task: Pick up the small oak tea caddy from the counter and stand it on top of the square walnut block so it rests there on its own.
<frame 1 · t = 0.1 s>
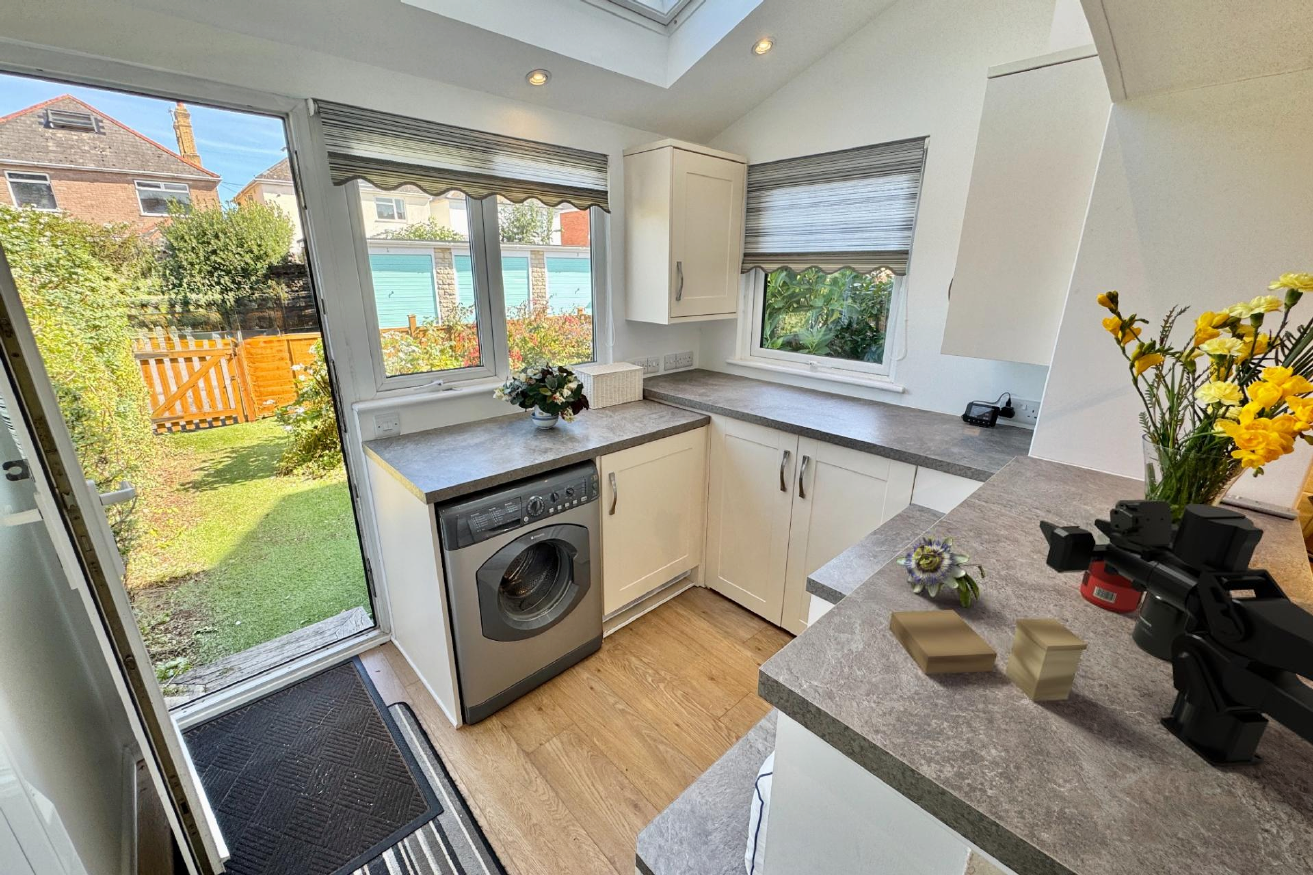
hand: (1068, 522, 82), 17 cm above the worktop, tool horizontal, fingers open, 9 cm apart
oak tea caddy: (1035, 685, 72), on the worktop
passion flower: (936, 590, 94), on the worktop
supplement bottle: (1160, 649, 79), on the worktop
canned food: (1107, 601, 91), on the worktop
walnut block: (938, 648, 78), on the worktop
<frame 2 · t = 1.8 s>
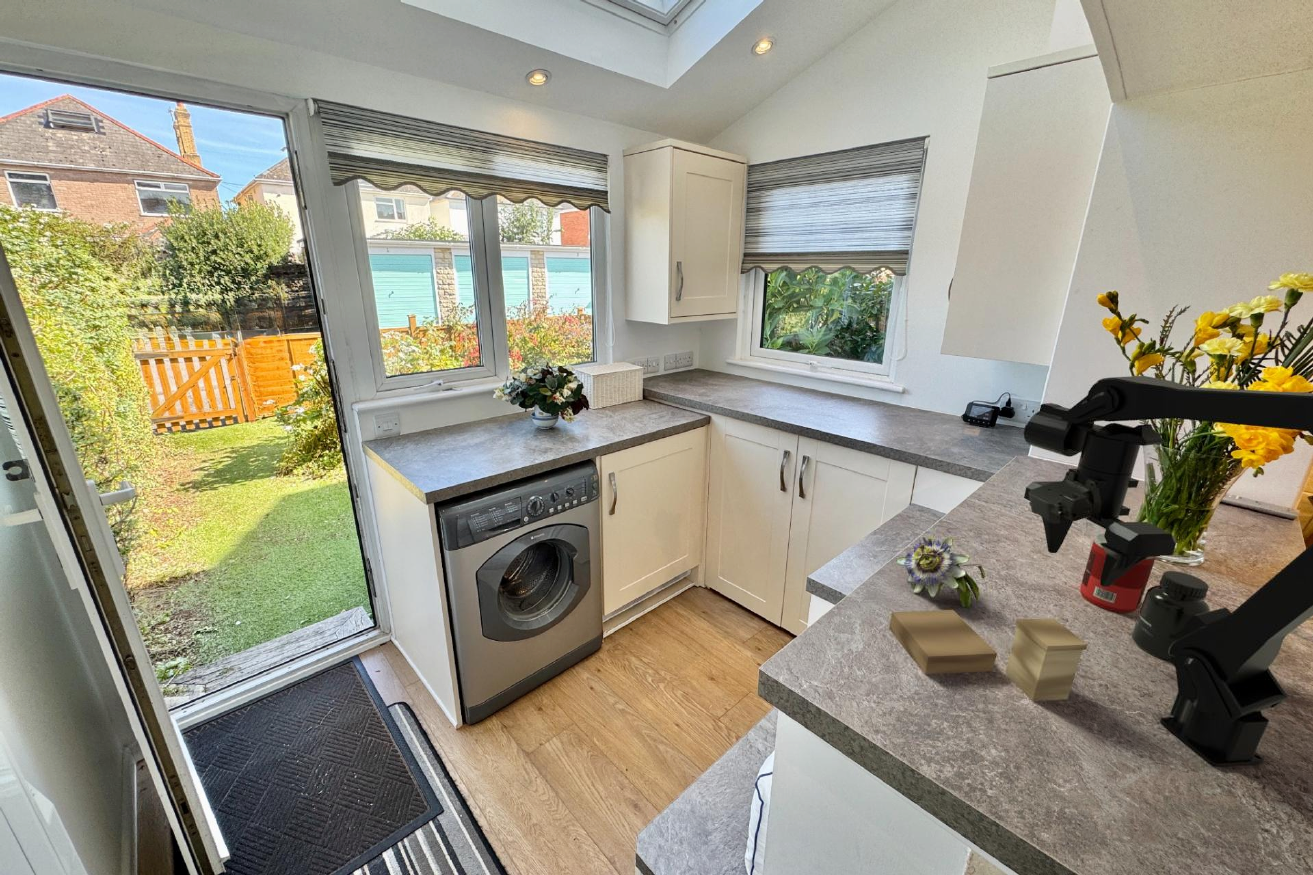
hand: (1076, 568, 76), 13 cm above the worktop, tool pointing down, fingers open, 9 cm apart
nothing on the worktop moved.
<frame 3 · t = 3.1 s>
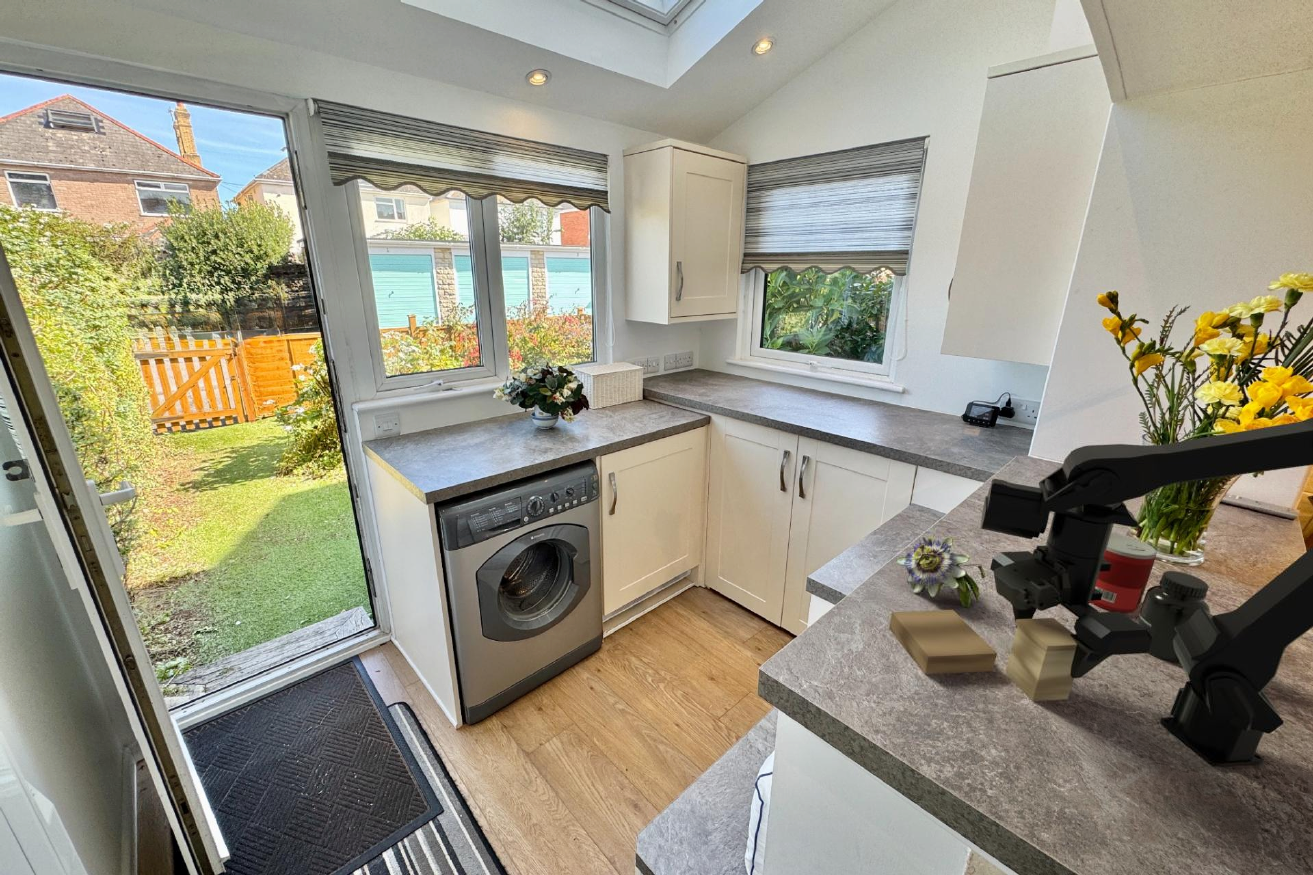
hand: (1046, 652, 70), 6 cm above the worktop, tool pointing down, fingers open, 9 cm apart
nothing on the worktop moved.
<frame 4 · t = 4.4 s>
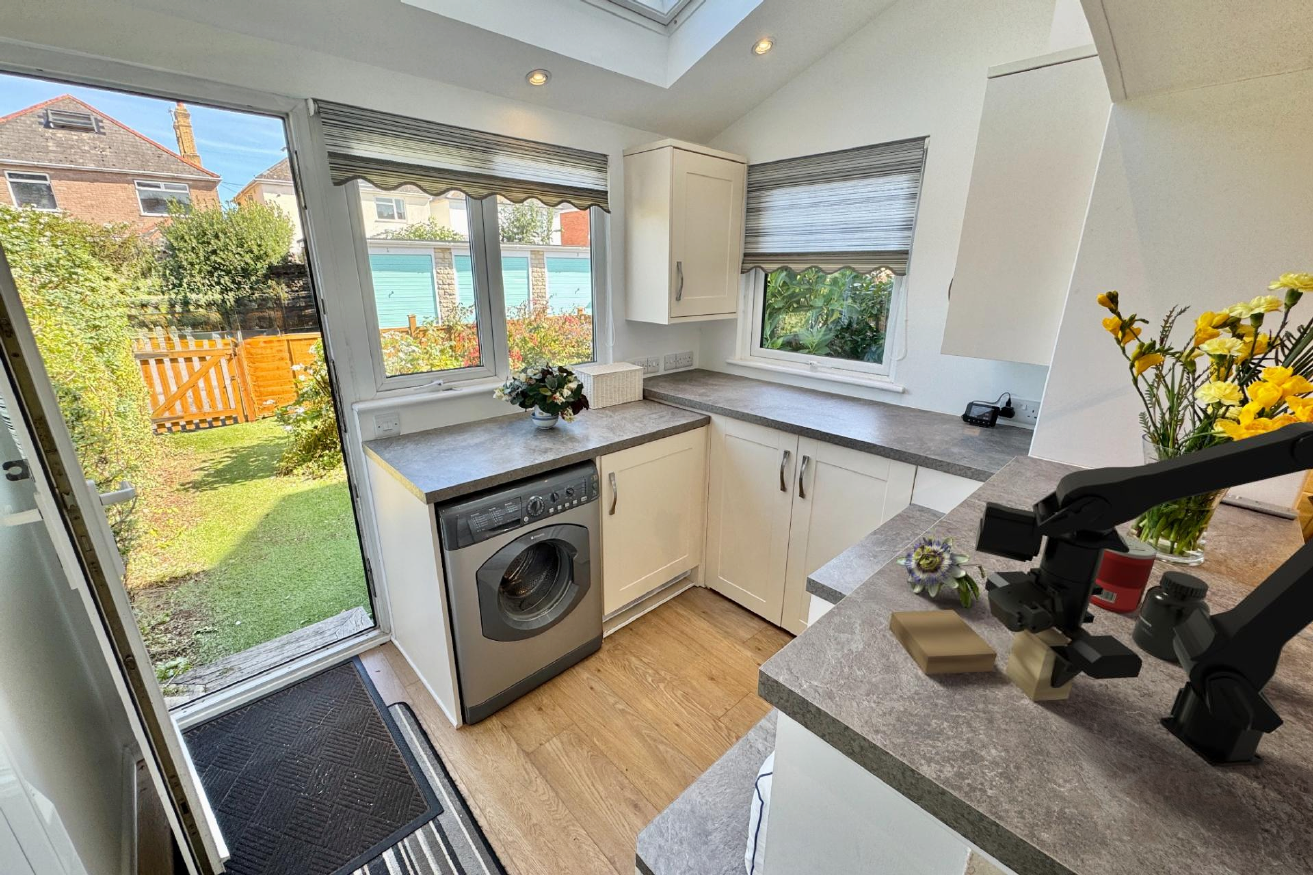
hand: (1039, 672, 71), 2 cm above the worktop, tool pointing down, fingers closed on oak tea caddy, 5 cm apart
oak tea caddy: (1035, 685, 72), on the worktop, touching gripper
everything else where it was.
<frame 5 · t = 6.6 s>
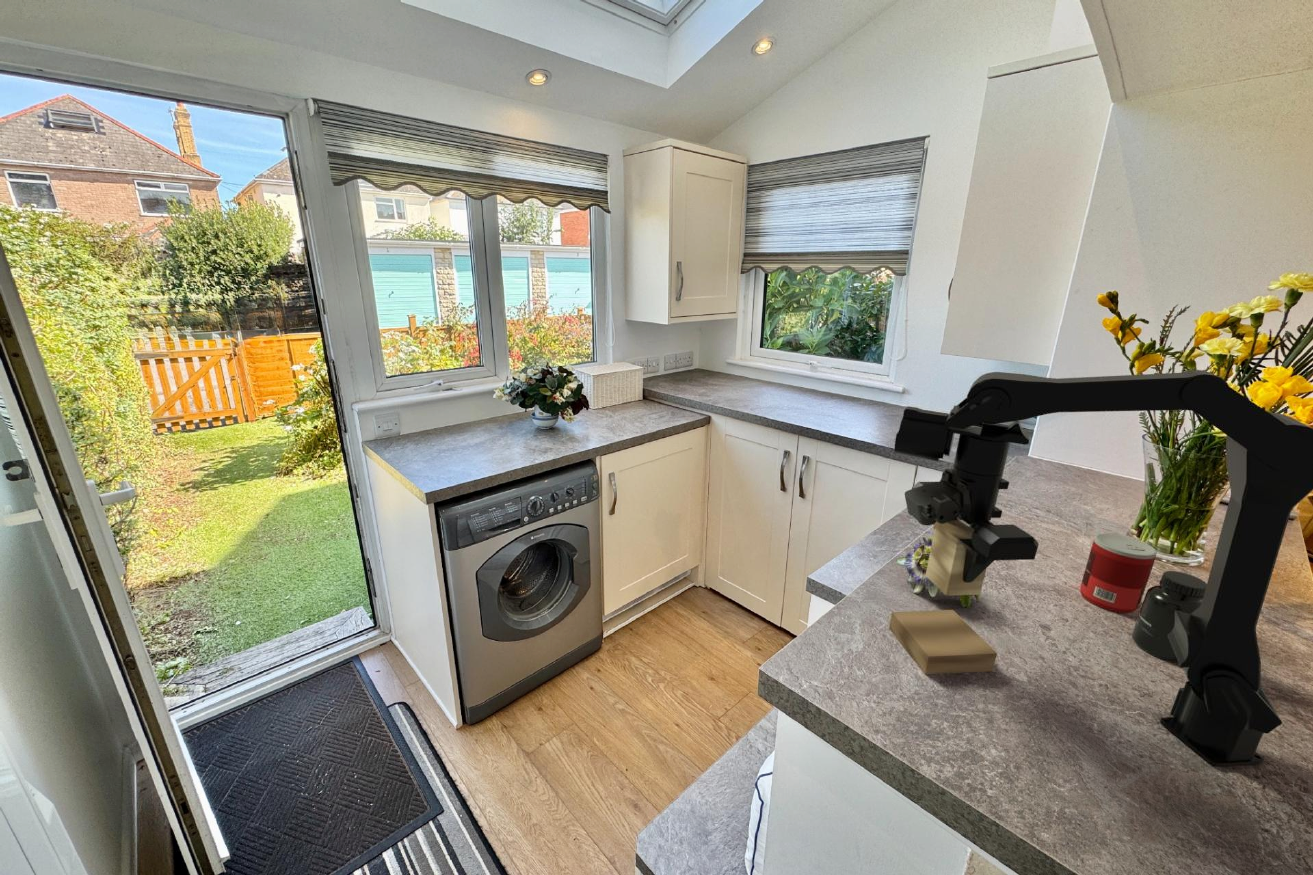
hand: (955, 571, 74), 13 cm above the worktop, tool pointing down, fingers closed on oak tea caddy, 5 cm apart
oak tea caddy: (952, 584, 75), point 11 cm above the worktop, touching gripper
everything else where it was.
when the fingers open (6 cm above the worktop, at t = 8.6 s): oak tea caddy drops 1 cm, resting on walnut block.
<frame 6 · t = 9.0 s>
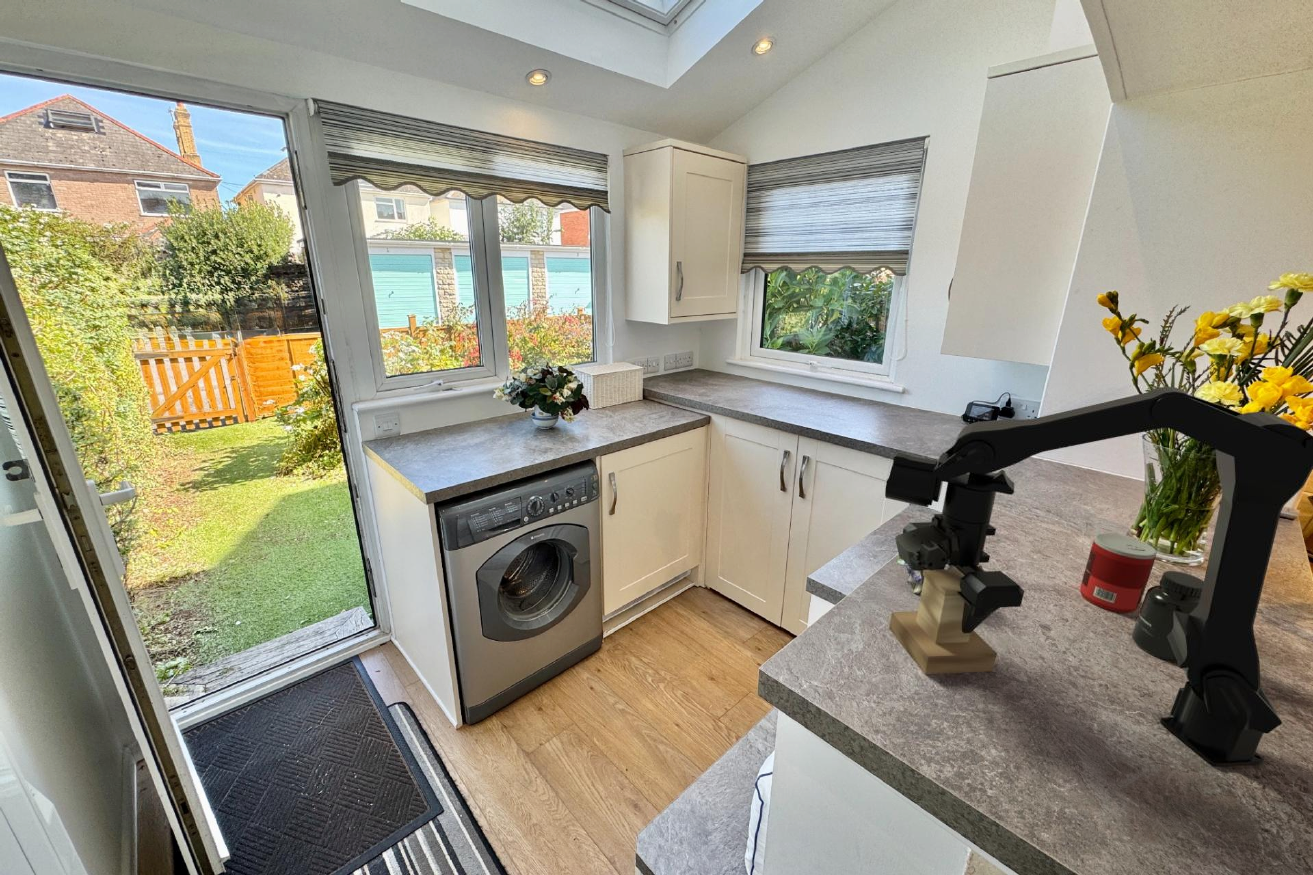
hand: (945, 612, 77), 6 cm above the worktop, tool pointing down, fingers open, 9 cm apart
oak tea caddy: (941, 631, 78), point 3 cm above the worktop, touching walnut block
everything else where it was.
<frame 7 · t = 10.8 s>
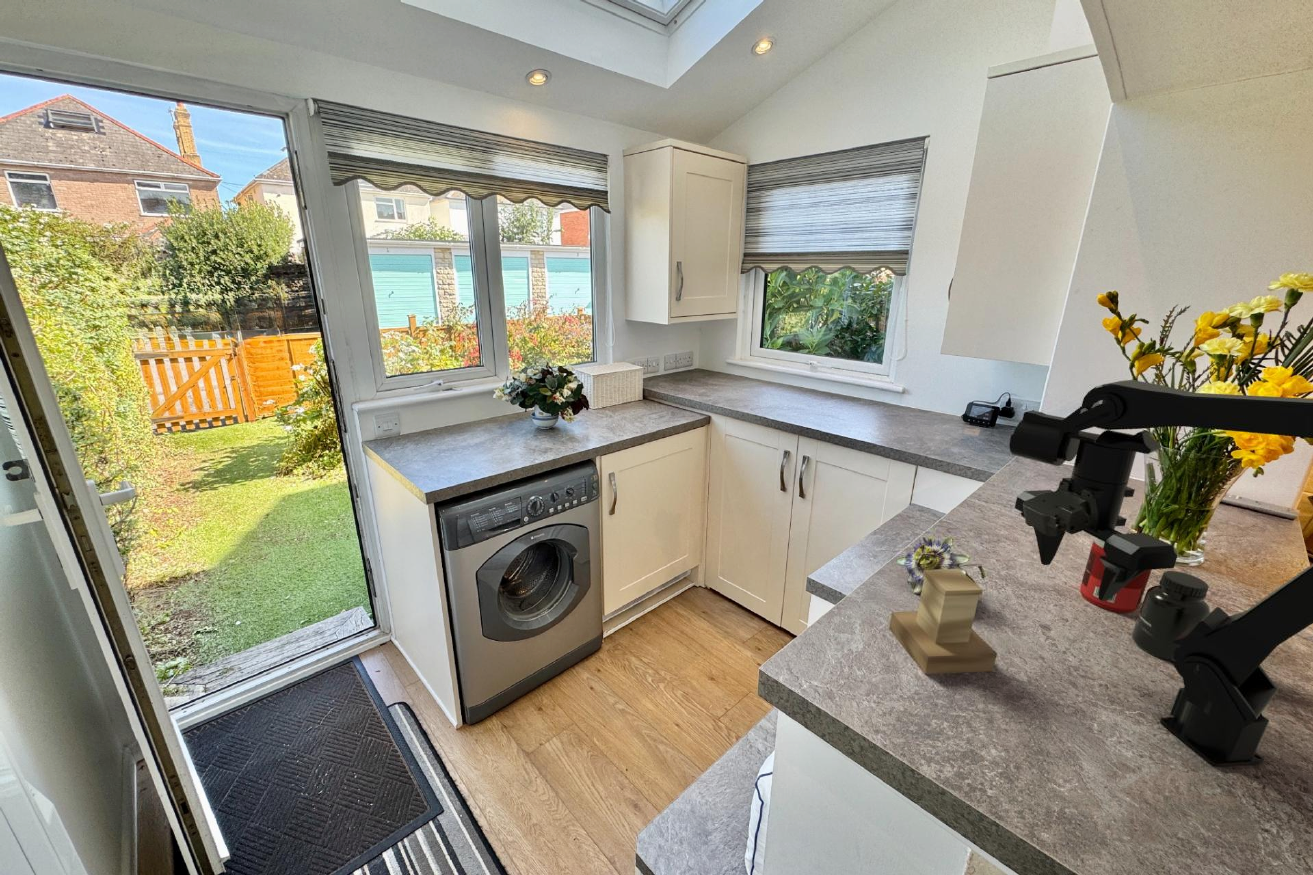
hand: (1072, 581, 73), 13 cm above the worktop, tool pointing down, fingers open, 9 cm apart
nothing on the worktop moved.
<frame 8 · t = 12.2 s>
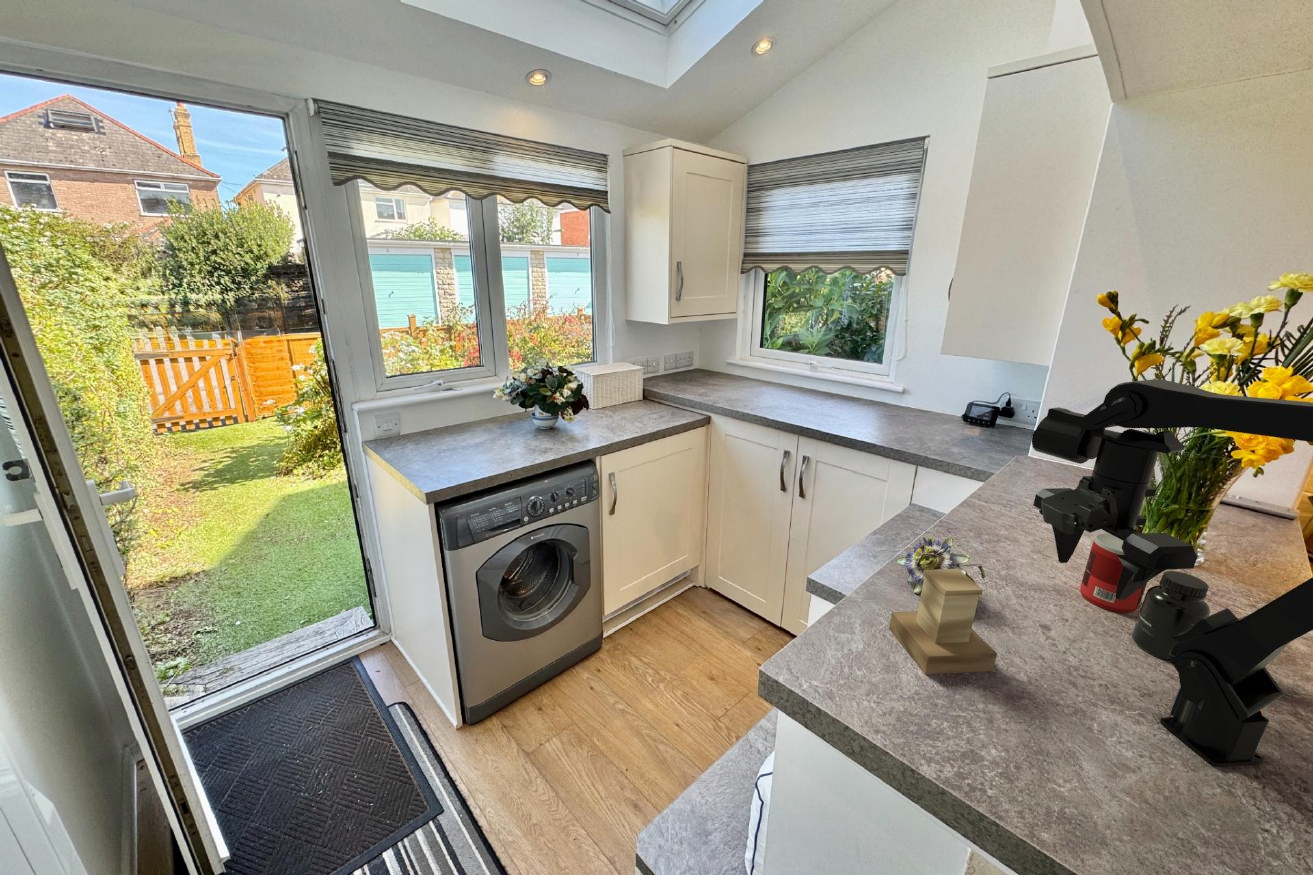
hand: (1089, 579, 73), 13 cm above the worktop, tool pointing down, fingers open, 9 cm apart
nothing on the worktop moved.
at the end: oak tea caddy inside the target area on the walnut block (0.0 cm from its centre), point 3.0 cm above the walnut block's base; oak tea caddy tilted 0°; the gripper is holding nothing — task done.
